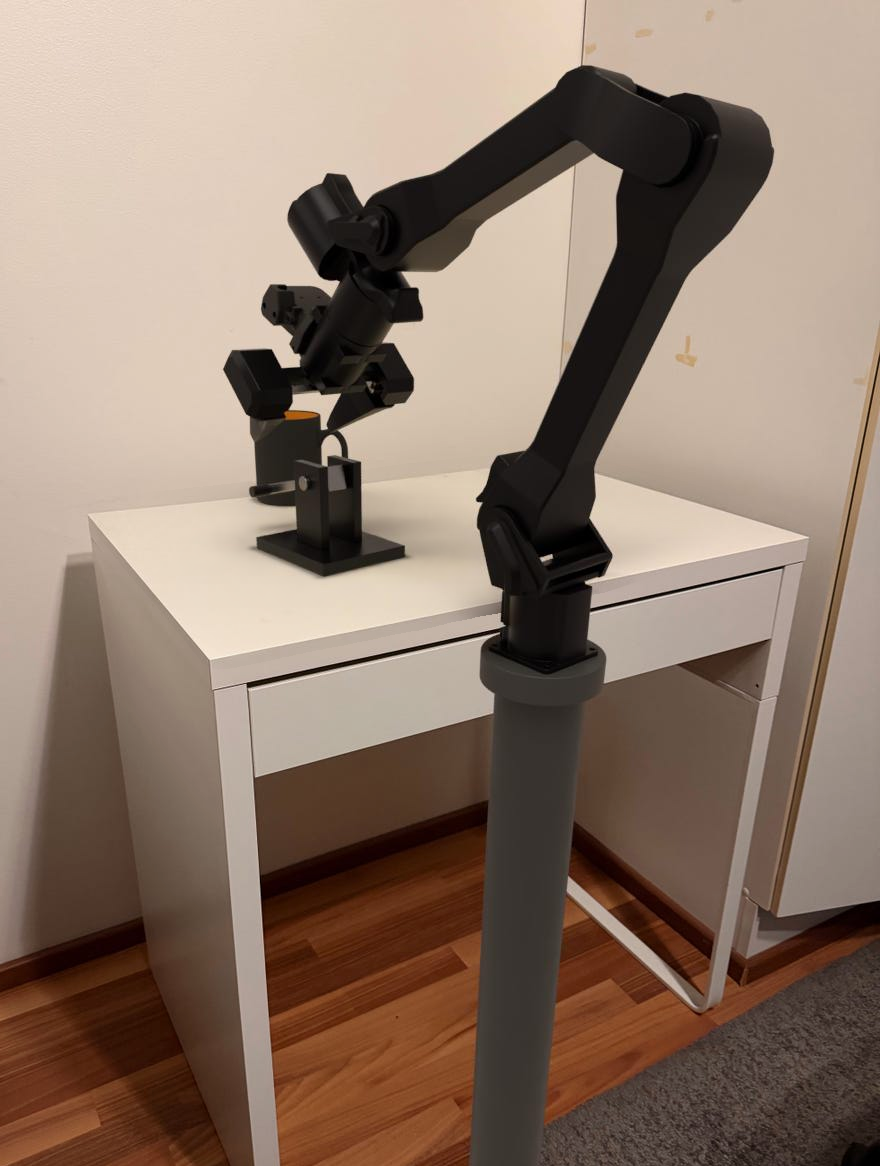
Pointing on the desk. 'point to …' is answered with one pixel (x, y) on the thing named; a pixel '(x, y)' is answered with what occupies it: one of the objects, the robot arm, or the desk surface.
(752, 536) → the desk surface
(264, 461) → the mug
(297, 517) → the black stand
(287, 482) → the tap lever
